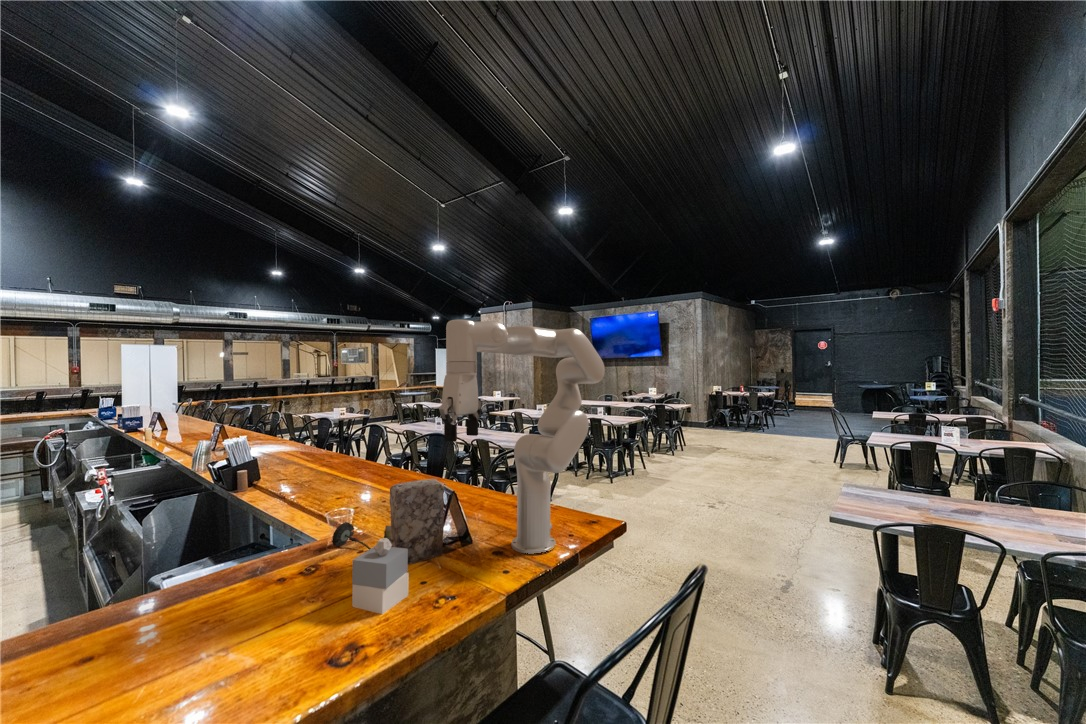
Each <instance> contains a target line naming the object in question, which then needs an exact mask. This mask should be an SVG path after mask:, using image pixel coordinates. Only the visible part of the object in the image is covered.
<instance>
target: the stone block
mask: <svg viewBox="0 0 1086 724" xmlns="http://www.w3.org/2000/svg"><path fill="white" fill-rule="evenodd" d="M444 491H445V485H444V484H443V483H441V482H440V481H438V480H437V479H436V478H430V479H420V480H412V481H407V482H400V483H395V484H393V485H392V486H391V487H390V488H389V507H390V526H391V544H392V546H391V547H397V548H406V549H408V566H409V565H412V564H416V563H419V562H423V561H427V560H430V559H433V558H436V557H441V556H442V555H443V545H444V544H443V543H444V541H443V540H444V511H445V510H444V504H445V502H444V501H445V500H444V494H445V493H444Z"/></svg>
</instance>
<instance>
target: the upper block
mask: <svg viewBox="0 0 1086 724" xmlns="http://www.w3.org/2000/svg"><path fill="white" fill-rule="evenodd" d="M375 546H376V545H374V546H373V547H370V548H371V549H370V550H369V549H368V550H367V551H365V552H363V553H362V554H359V555H358V556H356V557H355V558H354V559H352V570H351V571H352V574H351V575H352V577H351V578H352V579H351V581H352V582H351V583H352V586H353V585H361V586H368V587H376V588H383V589H387V588H388V587H389V586H390V585H392V584H393V583H394V582H395V581H396V580H398V579H399V578H400V577H401V576H403V575H404V574H405V573H408V570H409V568H408V567H409V565H408V549H406V548H397V547H391V548H390V550H389V552H388V554H387V555H384V556H379V555H378V554H377V552H376V551H375V549H374V548H375Z"/></svg>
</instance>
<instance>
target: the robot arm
mask: <svg viewBox="0 0 1086 724" xmlns="http://www.w3.org/2000/svg"><path fill="white" fill-rule="evenodd" d="M445 326H446V327H445V330H446V331H445V332H446V333H445V334H446V335H445V336H446V337H445V340H446V341H445V344H446V345H445V347H446V349H445V350H446V351H445V352H446V353H445V355H446V357H445V359H446V361H445V363H446V364H445V365H446V367H445V368H446V370H445V375H444V380H443V385H442V397H441V405H440V406H438V407H439V408H438V410H439V414H440V418H441V420H442V425H444V426H443V427H444V428H443V431H444V433H443V435H444V437H443V440H444V441H445V442H453V443H455V442H457V440H458V424H456V423H457V420H458V418H459V417H460V416H461V417H462V416H466V417H467V419H466V424H465V425H466V426H465V427H466V430H465V431H466V436H471V437H472V436H473V437H477V436H478V435H479V420H480V413H481V408H482V401H481V400H479V388H478V386H479V385H478V377H477V374H478V373H477V372H478V360H477V359H478V358H477V357H478V355H477V353H485V354H486V353H487V354H503V355H504V354H505V355H513V356H526V357H527V356H529V357H542V358H552V359H553V358H563V359H561V360H560V361H559V362H558V363H557V365H556V368H555V374H556V380H557V392H556V394H555V395H554V397H553V399H552V400H551V401H550V403H549V405H548V406H547V407H546V409H545V410H544V411H543V413H542V414H541V415H540V417H539V419H538V422H537V430H538V432H539V433H540V434H535V433H528V434H524V435H522V436H520V437H519V438H518V439H517V441H516V442H515V444H514V449H513V456H514V462H515V468H516V477H517V478H516V479H517V488H516V489H517V491H516V493H517V494H516V495H517V497H516V498H517V499H516V501H517V502H516V508H517V509H516V537H514V538H513V539H512V541H511V548H512V549H513V550H514V551H516V552H517V553H522V554H525V553H526V555H535V554H534V553H541V552H546V551H548V550H550V549H552V548H553V547H554V546H555V544H556V543H557V542H556V540H555V538H554V537H552V536H551V529H552V528H553V524H552V523H551V479H550V475H549V473H552V474H559V473H561V472H563V471H564V470H566V469H567V468H568V466H569V465H570V464H571V462H572V461H573V459H574V458H575V456H576V455H577V452H578V451H579V449H580V448H581V447H582V446H583V445H582V444H583V443H584V441H585V440H586V438H587V436H588V433H589V425H590V424H589V419H588V416H587V414H585V412H584V411H582V410H580V408H581V406H582V401H583V400H582V395H581V391H580V387H579V385H595V384H598V383H600V382H601V381H602V380H603V378H604V376H605V371H606V368H605V364H604V361H603V360H602V358H601V356H600V355H599V353H598V351H597V349H596V348H595V347H594V345H593V344H592V343H591V341H590V340H589V338H588V337H587V336H586V335H585V334H584V332H582V331H581V330H580V329H578V328H575V327H571V328H563V329H562V328H561V329H554V328H553V329H552V328H544V327H538V326H531V325H518V326H508V327H505V325H503V324H502V323H501V322H499V321H496V320H483V321H473V320H471V319H452V320H451V319H450V320H449V321H448V322H447V323H446V325H445ZM556 545H557V544H556ZM555 547H556V546H555ZM527 553H528V554H527ZM546 553H547V552H546Z"/></svg>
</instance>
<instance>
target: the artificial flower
mask: <svg viewBox="0 0 1086 724" xmlns="http://www.w3.org/2000/svg"><path fill="white" fill-rule="evenodd" d="M383 533H384V535H383V538H387V539H389V541H390V542H391V525H385V528H384V531H383ZM354 534H355V527H354V525H353V524H352V523H350V522H343V523H341V524H339V526H337V527H336V529H335V530H334V531H333V534H332V539H331V542H332V546H333V545H334V546H336V547H342V546H344V545H345V544H346V543H347V541H348V540H349V541H351V542H357V543H359V544H361V545H362V546H364V547H366V548H367V549H368V550H370V549H371V548H372V547H370V546H369V545H367V543H365V542H363V541H360V540H359V539H357V538H356V537H353V536H354ZM344 548H345V546H344Z"/></svg>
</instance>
